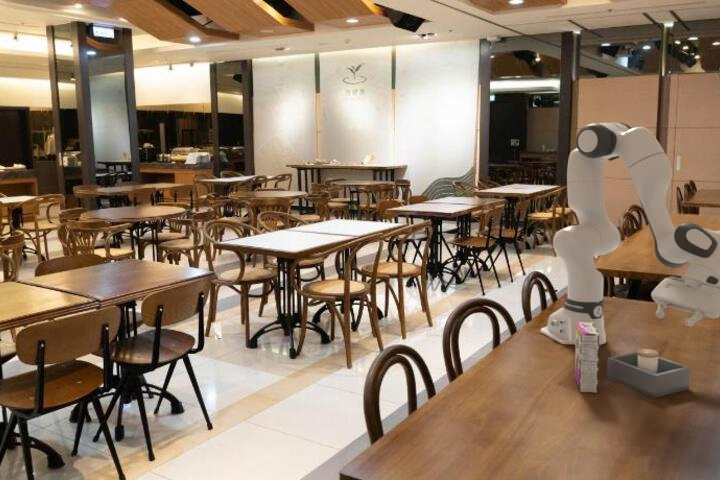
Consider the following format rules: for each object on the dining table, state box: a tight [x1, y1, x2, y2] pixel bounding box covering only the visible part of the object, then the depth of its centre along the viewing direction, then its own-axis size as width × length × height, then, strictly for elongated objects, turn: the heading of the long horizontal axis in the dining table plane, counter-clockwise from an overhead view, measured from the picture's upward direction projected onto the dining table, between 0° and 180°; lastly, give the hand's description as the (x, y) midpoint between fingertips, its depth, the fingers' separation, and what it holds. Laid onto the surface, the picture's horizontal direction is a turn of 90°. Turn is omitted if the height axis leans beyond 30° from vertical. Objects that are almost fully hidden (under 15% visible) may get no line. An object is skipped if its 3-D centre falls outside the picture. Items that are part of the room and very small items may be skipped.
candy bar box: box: [574, 322, 600, 394], centre depth 177 cm, size 11×5×16 cm, turn 168°
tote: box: [606, 350, 691, 399], centre depth 178 cm, size 16×13×6 cm
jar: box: [637, 348, 659, 374], centre depth 178 cm, size 5×5×8 cm
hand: (672, 320), depth 180 cm, fingers open, 8 cm apart
